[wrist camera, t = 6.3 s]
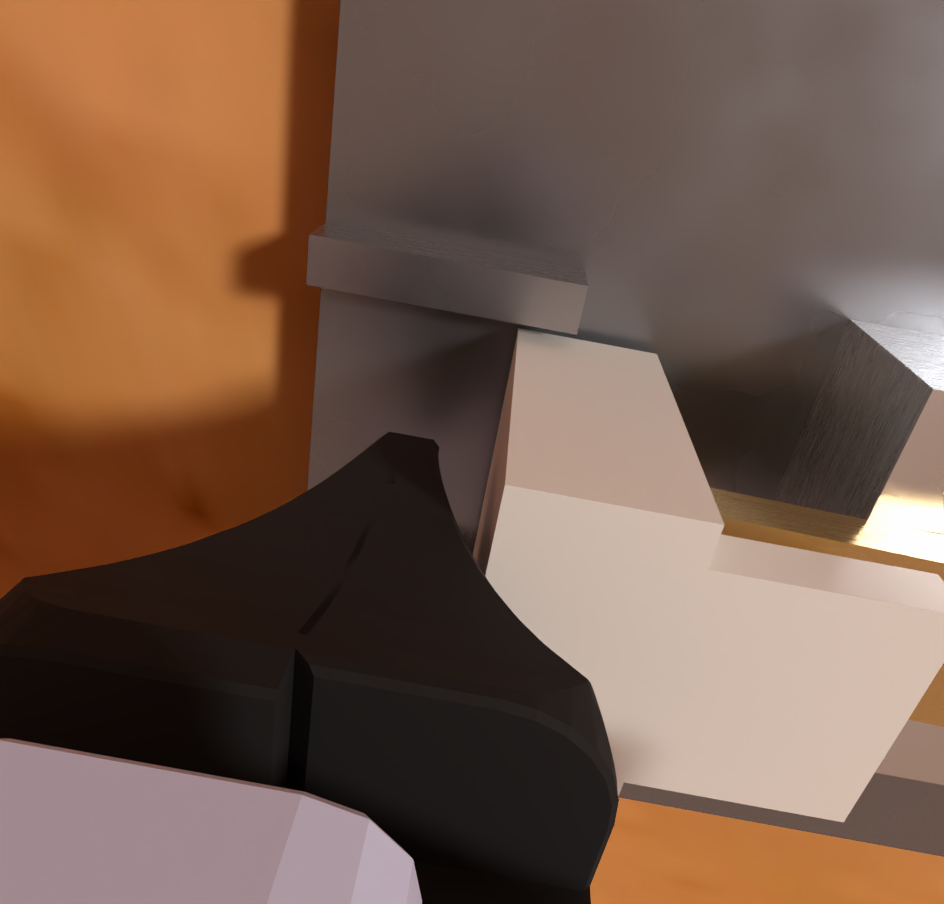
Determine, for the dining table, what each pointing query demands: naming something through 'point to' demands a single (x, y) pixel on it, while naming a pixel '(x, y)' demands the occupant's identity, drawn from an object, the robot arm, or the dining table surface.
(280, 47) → the dining table surface
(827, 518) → the strap
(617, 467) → the latch
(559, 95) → the base plate
